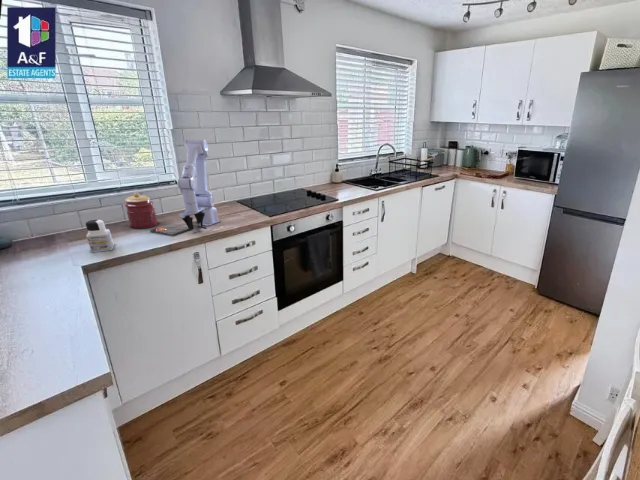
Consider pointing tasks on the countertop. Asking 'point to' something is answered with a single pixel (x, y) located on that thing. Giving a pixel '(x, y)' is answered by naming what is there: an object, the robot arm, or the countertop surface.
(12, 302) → the countertop surface
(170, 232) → the dark grey flat slab
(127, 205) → the kitchen canister
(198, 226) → the wok
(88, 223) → the container
